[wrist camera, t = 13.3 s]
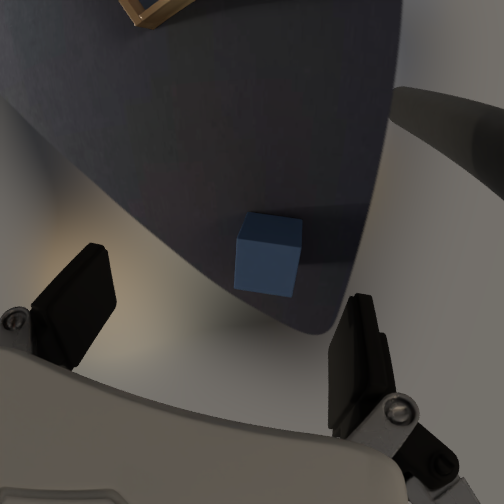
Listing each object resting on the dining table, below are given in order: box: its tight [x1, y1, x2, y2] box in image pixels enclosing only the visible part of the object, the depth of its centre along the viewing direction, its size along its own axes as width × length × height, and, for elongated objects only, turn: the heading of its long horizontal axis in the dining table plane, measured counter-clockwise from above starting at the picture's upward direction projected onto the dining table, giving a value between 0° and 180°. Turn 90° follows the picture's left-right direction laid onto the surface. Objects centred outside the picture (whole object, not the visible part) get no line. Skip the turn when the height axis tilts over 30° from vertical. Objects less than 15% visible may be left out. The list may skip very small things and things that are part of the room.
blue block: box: [234, 212, 302, 297], centre depth 24 cm, size 4×4×4 cm
